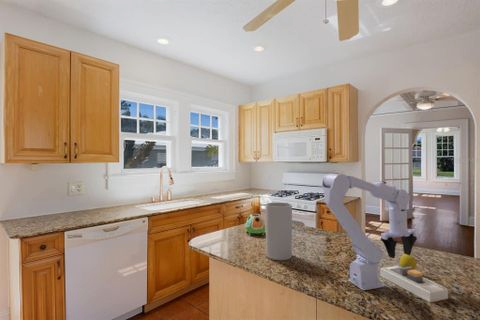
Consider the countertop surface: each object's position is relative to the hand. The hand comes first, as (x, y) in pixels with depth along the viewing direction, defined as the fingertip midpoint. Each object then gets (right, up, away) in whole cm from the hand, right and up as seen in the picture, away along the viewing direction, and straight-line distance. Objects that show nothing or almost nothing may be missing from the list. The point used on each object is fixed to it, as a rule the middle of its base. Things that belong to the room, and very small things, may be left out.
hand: (399, 255), depth 97 cm
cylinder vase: (-42, -10, +26) cm, 51 cm away
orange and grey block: (+3, -10, -5) cm, 11 cm away
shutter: (+1, -7, +1) cm, 7 cm away
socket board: (+2, -10, -3) cm, 11 cm away
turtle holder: (-51, -11, +66) cm, 85 cm away
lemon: (+8, -10, +8) cm, 15 cm away
